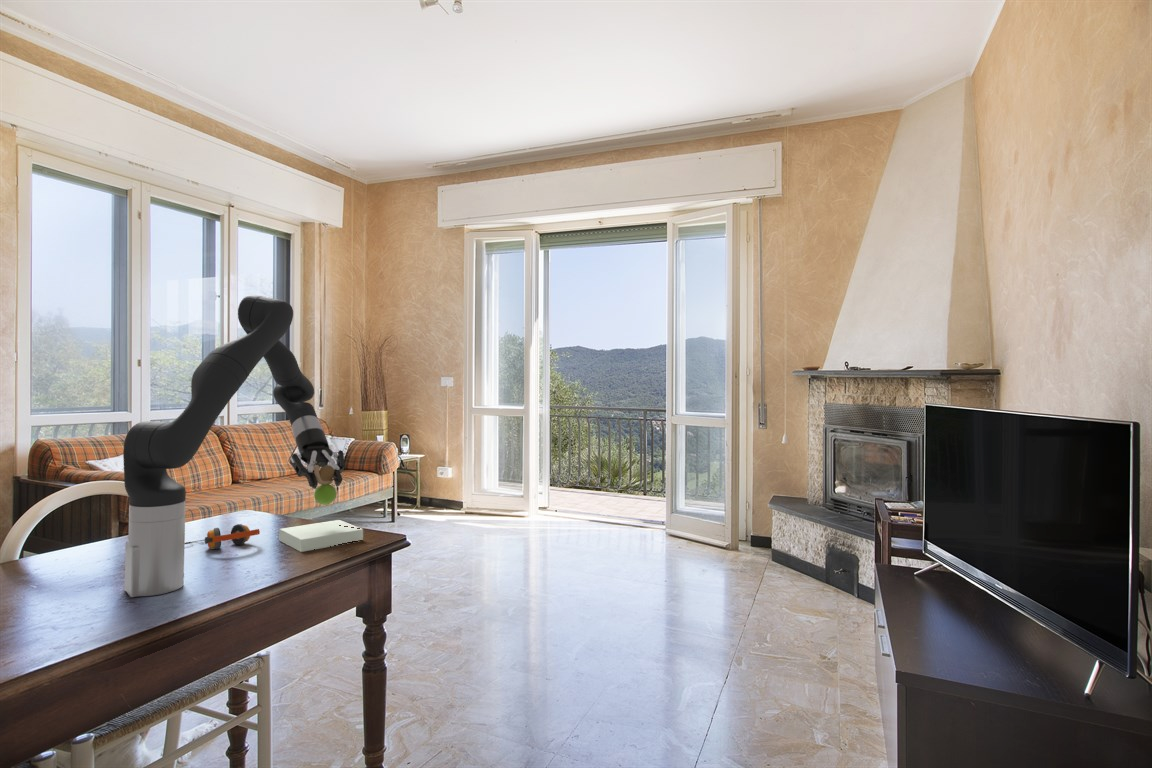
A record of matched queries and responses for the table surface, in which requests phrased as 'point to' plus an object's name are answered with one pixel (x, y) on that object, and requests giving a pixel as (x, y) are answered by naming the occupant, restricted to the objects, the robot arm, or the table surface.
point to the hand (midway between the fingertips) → (327, 485)
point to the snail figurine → (324, 484)
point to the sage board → (319, 535)
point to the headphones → (228, 536)
